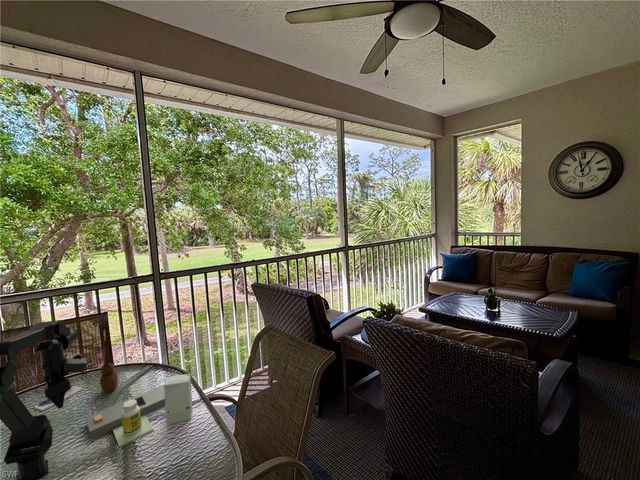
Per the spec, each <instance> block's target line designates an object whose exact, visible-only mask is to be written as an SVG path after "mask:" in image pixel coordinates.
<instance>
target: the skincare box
mask: <svg viewBox="0 0 640 480" xmlns="http://www.w3.org/2000/svg"><path fill="white" fill-rule="evenodd" d="M163 385H164V392H165V406H164V407H165V418H166V419H165V420H166V422H165V423H166V425H167V426H169V425H172V424H177V423H181V422H186V421H187V422H188V421H191V420H192V415H193V397H192V394H193V393H192V377H191V373H185V374H177V375H173V376H168V377H167V376H166V378H165V382H164V384H163Z"/></svg>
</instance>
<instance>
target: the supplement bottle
mask: <svg viewBox="0 0 640 480" xmlns="http://www.w3.org/2000/svg"><path fill="white" fill-rule="evenodd" d="M121 417H122V425H123V433H124V434H125V435H131V434H134V433H136V432H137V431H139V430H140V428H141V426H142V424H141V414H140V405H137V401H136V400H129V401H127V402H125V403H124V404H123V411H122V413H121Z"/></svg>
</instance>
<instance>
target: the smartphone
mask: <svg viewBox="0 0 640 480" xmlns="http://www.w3.org/2000/svg"><path fill="white" fill-rule="evenodd" d="M84 390H85V388H84V387H82V386H78V385H73V386H71V388H70V389H69V390H68V391H67V392H66V393H65V397H64V401H65V400H68V399H69V398H71V397H73V396H74V395H76V394H79V393H80V392H82V391H84ZM78 392H79V393H78ZM54 406H56V405H55V404H54V403H52V402H51V401H50V400H49V399H48V398H47V399H45V400H44V401H41V402H39V403H38V404H35V405H33V406H32V409H34V410H37V411H38V412H40V413H41V412H45V411H47V410H48V409H50V408H53V407H54Z"/></svg>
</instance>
